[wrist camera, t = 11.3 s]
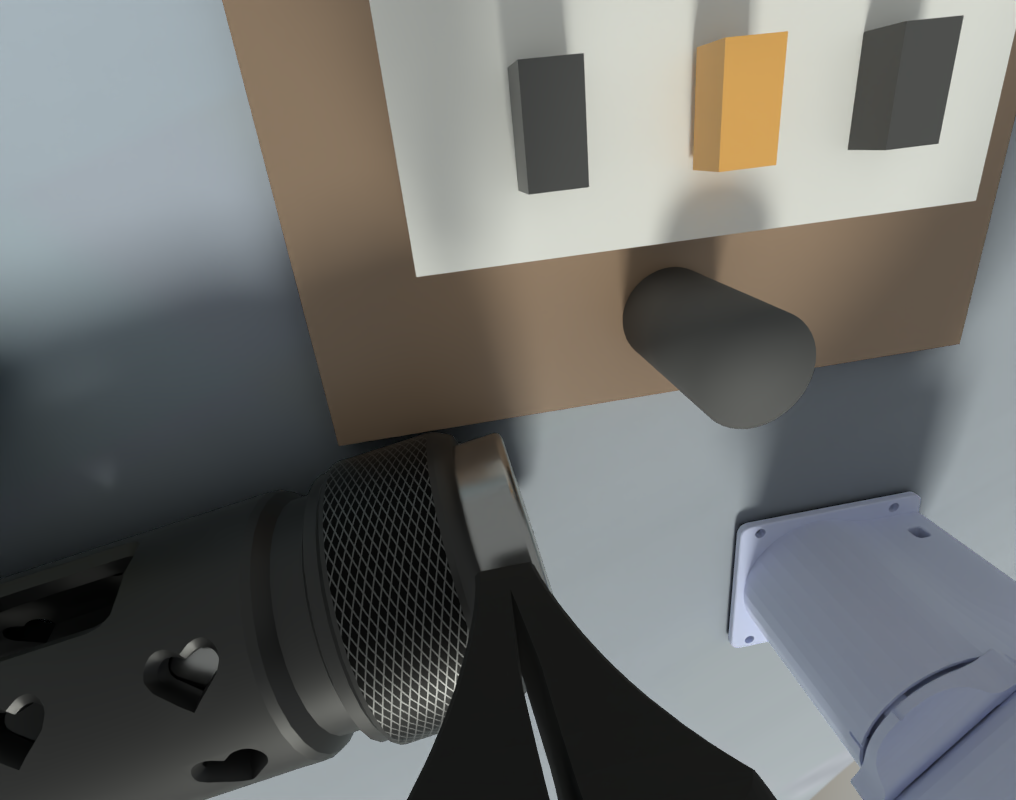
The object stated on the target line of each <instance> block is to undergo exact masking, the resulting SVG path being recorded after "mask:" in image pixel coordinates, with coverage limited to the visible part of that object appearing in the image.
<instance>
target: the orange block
mask: <svg viewBox="0 0 1016 800" xmlns="http://www.w3.org/2000/svg"><path fill="white" fill-rule="evenodd" d="M787 39H788V31H785V32H775V33H765V34H755V35H744V36H734V37H725V38H722V39H719V40H717V41H714V42H711V43H708V44H705V45H702V46H699V47H697V55H696V86H695V117H694V148H693V170H698V171H710V172H724V171H732V170H740V169H748V168H756V167H765V166H773V165H776V162H777V151H778V140H779V128H780V117H781V106H782V95H783V84H784V73H785V61H786V50H787Z"/></svg>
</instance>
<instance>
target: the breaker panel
mask: <svg viewBox="0 0 1016 800" xmlns="http://www.w3.org/2000/svg"><path fill="white" fill-rule="evenodd" d="M222 2H223V5H224V9H225V13H226V17H227V21H228V25H229V28H230V32H231V36H232V40H233V44H234V48H235V51H236V55H237V59H238V63H239V67H240V70H241V74H242V78H243V82H244V86H245V90H246V93H247V97H248V101H249V105H250V109H251V113H252V116H253V120H254V124H255V128H256V132H257V135H258V139H259V143H260V147H261V151H262V155H263V158H264V162H265V166H266V170H267V174H268V178H269V181H270V185H271V189H272V193H273V197H274V200H275V204H276V208H277V212H278V216H279V220H280V223H281V227H282V231H283V235H284V239H285V243H286V246H287V250H288V254H289V258H290V262H291V266H292V269H293V273H294V277H295V281H296V285H297V288H298V292H299V296H300V300H301V304H302V308H303V311H304V315H305V319H306V323H307V327H308V331H309V334H310V338H311V342H312V346H313V350H314V353H315V357H316V361H317V365H318V369H319V373H320V376H321V380H322V384H323V388H324V392H325V396H326V399H327V403H328V407H329V411H330V415H331V418H332V422H333V426H334V430H335V434H336V438H337V441H338V445H339V446H343V445H349V444H355V443H361V442H367V441H373V440H379V439H385V438H391V437H397V436H404V435H410V434H416V433H422V432H428V431H434V430H440V429H446V428H452V427H458V426H464V425H470V424H476V423H482V422H489V421H495V420H501V419H507V418H513V417H519V416H525V415H531V414H537V413H543V412H549V411H555V410H561V409H568V408H574V407H580V406H586V405H592V404H598V403H604V402H610V401H616V400H622V399H628V398H634V397H640V396H646V395H653V394H659V393H665V392H671V391H677V390H679V389H677V388H676V387H675V386H674V385H673V384H672V383H671V382H670V381H668V380H667V379H666V378H665V377H664V376H663V375H662V374H661V373H660V372H658V371H657V370H656V369H655V368H654V367H653V366H652V365H651V364H650V363H648V362H647V361H646V360H645V359H644V358H643V357H642V356H641V355H639V354H638V353H637V352H636V351H635V350H634V349H633V348H632V347H631V345H630V344H629V343H628V341H627V339H626V336H625V334H624V330H623V312H624V308H625V305H626V302H627V300H628V298H629V296H630V294H631V292H632V291H633V290H634V288H635V287H636V286H637V285H638V284H639V283H640V282H641V281H642V280H643V279H644V278H645V277H647V276H648V275H650V274H651V273H654V272H656V271H658V270H661V269H664V268H668V267H683V268H687V269H690V270H692V271H695V272H697V273H699V274H702V275H704V276H706V277H709V278H711V279H713V280H715V281H718V282H720V283H722V284H725V285H727V286H729V287H732V288H734V289H736V290H738V291H741V292H743V293H745V294H748V295H750V296H752V297H755V298H757V299H759V300H762V301H764V302H766V303H768V304H771V305H773V306H775V307H778V308H780V309H782V310H785V311H787V312H789V313H791V314H793V315H795V316H797V317H798V318H800V319H801V320H802V321H803V322H804V323H805V324H806V325H807V326H808V328H809V329H810V331H811V333H812V335H813V338H814V341H815V346H816V363H815V368H816V367H823V366H829V365H835V364H841V363H847V362H853V361H859V360H865V359H871V358H877V357H883V356H889V355H895V354H901V353H908V352H914V351H920V350H926V349H932V348H938V347H944V346H950V345H956V344H960V340H961V336H962V332H963V328H964V324H965V319H966V315H967V311H968V307H969V303H970V299H971V295H972V291H973V287H974V283H975V279H976V275H977V271H978V267H979V262H980V258H981V254H982V250H983V246H984V242H985V238H986V234H987V230H988V226H989V222H990V218H991V214H992V209H993V205H994V201H995V197H996V193H997V189H998V185H999V181H1000V177H1001V173H1002V169H1003V165H1004V161H1005V156H1006V152H1007V148H1008V144H1009V140H1010V136H1011V132H1012V128H1013V124H1014V120H1015V116H1016V0H222ZM785 31H788V39H787V50H786V61H785V73H784V84H783V95H782V106H781V117H780V128H779V140H778V151H777V162H776V165H773V166H765V167H756V168H748V169H740V170H732V171H724V172H710V171H698V170H693V148H694V117H695V86H696V55H697V47H699V46H702V45H705V44H708V43H711V42H714V41H717V40H719V39H722V38H725V37H734V36H744V35H755V34H765V33H775V32H785Z"/></svg>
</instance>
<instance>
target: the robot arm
mask: <svg viewBox="0 0 1016 800" xmlns="http://www.w3.org/2000/svg"><path fill="white" fill-rule="evenodd" d="M920 504H921V498H920V496H919V495H917V494H916V493H914V492H905V493H899V494H894V495H889V496H884V497H878V498H873V499H868V500H863V501H858V502H852V503H847V504H842V505H837V506H832V507H826V508H821V509H816V510H811V511H806V512H800V513H795V514H790V515H785V516H780V517H774V518H769V519H764V520H759V521H754V522H748V523H745V524H743V525H742V526H740V528H739V529H738V532H737V540H736V552H735V564H734V576H733V588H732V600H731V612H730V624H729V636H728V639H729V642H730V643H731V645H732V646H733V647H735V648H740V647H745V646H750V645H754V644H759V643H764V642H769V643H770V644H771V646H772V647H773V649H774V650H775V651H776V653H777V654H778V655H779V657H780V658H781V660H782V661H783V662H784V664H785V665H786V666H787V668H788V669H789V671H790V672H791V673H792V675H793V676H794V677H795V679H796V680H797V682H798V683H799V684H800V686H801V687H802V688H803V690H804V691H805V693H806V694H807V695H808V697H809V698H810V699H811V701H812V702H813V704H814V705H815V706H816V708H817V709H818V710H819V712H820V713H821V714H822V716H823V717H824V719H825V720H826V721H827V723H828V724H829V725H830V727H831V728H832V730H833V731H834V732H835V734H836V735H837V736H838V738H839V739H840V741H841V742H842V743H843V745H844V746H845V747H846V749H847V750H848V752H849V753H850V754H851V756H852V757H853V758H854V760H855V761H856V763H857V764H858V765H859V767H860V770H859V771H858V772H857V774H856V775H855V776H854V777H853V778H852V779H851V783H852V785H853V786H854V787H855V789H856V791H857V792H858V793H859V795H860V796H861V798H862V799H863V800H1016V581H1014V580H1013V579H1012V578H1010V577H1009V576H1007V575H1006V574H1005V573H1003V572H1002V571H1000V570H999V569H998V568H996V567H995V566H993V565H992V564H991V563H989V562H988V561H986V560H985V559H984V558H982V557H981V556H979V555H978V554H977V553H975V552H974V551H972V550H971V549H970V548H968V547H967V546H965V545H964V544H963V543H961V542H960V541H958V540H957V539H956V538H954V537H953V536H951V535H950V534H949V533H947V532H946V531H944V530H943V529H942V528H940V527H939V526H937V525H936V524H935V523H933V522H932V521H930V520H929V519H928V518H926V517H925V516H923V515H922V514H921V513H919V508H920ZM758 530H760V531H759V532H757V531H758ZM756 532H757V533H756ZM521 673H522V674H521ZM522 677H523V680H524V683H525V687H526V690H527V693H528V697H529V700H530V703H531V706H532V710H533V713H534V716H535V720H536V723H537V726H538V729H539V733H540V736H541V739H542V743H543V746H544V749H545V752H546V756H547V759H548V762H549V765H550V769H551V773H552V777H553V780H554V784H555V788H556V793H557V797H558V800H777V799H776V798H775V796H774V795H773V794H772V792H771V791H770V789H769V788H768V787H767V786H766V784H765V783H764V782H763V780H762V779H761V778H760V776H759V775H758V774H757V773H756V772H755V770H753V769H752V768H750V767H748V766H746V765H745V764H743V763H741V762H740V761H738V760H736V759H735V758H733V757H731V756H730V755H728V754H727V753H725V752H724V751H722V750H720V749H719V748H717V747H716V746H714V745H713V744H711V743H710V742H708V741H707V740H705V739H704V738H702V737H701V736H699V735H698V734H696V733H695V732H694V731H692V730H691V729H689V728H688V727H686V726H685V725H684V724H682V723H681V722H680V721H678V720H677V719H676V718H675V717H673V716H672V715H671V714H669V713H668V712H667V711H665V710H664V709H663V708H662V707H660V706H659V705H658V704H656V703H655V702H654V701H653V700H651V699H650V698H649V697H648V696H646V695H645V694H644V693H643V692H642V691H641V690H640V689H638V688H637V687H636V686H635V685H634V684H633V683H631V682H630V681H629V680H628V679H627V678H626V677H625V676H624V675H623V674H622V673H621V672H620V671H619V670H617V669H616V668H615V667H614V666H613V665H612V664H611V663H610V662H609V661H608V660H607V659H606V658H605V657H604V656H603V655H602V654H601V653H600V651H599V650H598V649H597V648H596V647H595V646H594V645H593V644H592V643H591V642H590V641H589V640H588V638H587V637H586V636H585V635H584V634H583V633H582V632H581V630H580V629H579V628H578V627H577V626H576V624H575V623H574V622H573V621H572V619H571V618H570V617H569V616H568V614H567V613H566V612H565V611H564V610H563V608H562V607H561V606H560V604H559V603H558V602H557V600H556V599H555V597H554V596H553V594H552V593H551V592H550V590H549V589H548V587H547V586H546V584H545V583H544V581H543V579H542V578H541V576H540V574H539V573H538V571H537V569H536V567H535V565H534V564H532V563H530V562H527V563H522V564H517V565H511V566H506V567H501V568H496V569H491V570H485V571H480V572H478V573H477V575H476V576H475V601H474V609H473V616H472V622H471V627H470V632H469V637H468V642H467V646H466V651H465V654H464V658H463V662H462V665H461V669H460V673H459V676H458V680H457V683H456V686H455V689H454V692H453V695H452V698H451V701H450V704H449V707H448V709H447V712H446V715H445V718H444V720H443V723H442V725H441V728H440V730H439V733H438V735H437V737H436V740H435V742H434V745H433V747H432V749H431V752H430V754H429V756H428V758H427V760H426V763H425V765H424V767H423V769H422V771H421V773H420V775H419V777H418V779H417V781H416V783H415V785H414V787H413V789H412V791H411V793H410V795H409V797H408V799H407V800H549V796H548V792H547V788H546V784H545V780H544V776H543V771H542V767H541V763H540V759H539V755H538V751H537V747H536V743H535V738H534V734H533V730H532V726H531V721H530V717H529V713H528V709H527V704H526V700H525V696H524V691H523V683H522Z"/></svg>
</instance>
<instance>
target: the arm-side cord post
mask: <svg viewBox="0 0 1016 800" xmlns="http://www.w3.org/2000/svg"><path fill="white" fill-rule="evenodd" d="M623 330H624V334H625V336H626V339H627V341H628V343H629V344H630V345H631V347H632V348H633V349H634V350H635V351H636V352H637V353H638V354H639V355H641V356H642V357H643V358H644V359H645V360H646V361H647V362H648V363H650V364H651V365H652V366H653V367H654V368H655V369H656V370H657V371H658V372H660V373H661V374H662V375H663V376H664V377H665V378H666V379H667V380H668V381H670V382H671V383H672V384H673V385H674V386H675V387H676V388H677V389H679V390H680V391H681V392H682V393H683V394H684V395H685V396H686V397H687V398H689V399H690V400H691V401H692V402H693V403H694V404H695V405H696V406H697V407H699V408H700V409H701V410H702V411H703V412H704V413H705V414H706V415H708V416H709V417H710V418H711V419H712V420H714V421H715V422H716V423H718V424H720V425H723V426H726V427H729V428H735V429H748V428H754V427H758V426H761V425H764V424H767V423H769V422H771V421H773V420H775V419H777V418H778V417H780V416H781V415H783V414H784V413H785V412H787V411H788V410H789V409H790V408H791V407H792V406H793V405H794V404H795V403H796V402H797V401H798V400H799V399H800V397H801V396H802V394H803V393H804V392H805V390H806V388H807V386H808V385H809V382H810V380H811V378H812V375H813V372H814V368H815V363H816V346H815V341H814V338H813V335H812V333H811V331H810V329H809V328H808V326H807V325H806V324H805V323H804V322H803V321H802V320H801V319H800V318H798V317H797V316H795V315H793V314H791V313H789V312H787V311H785V310H782V309H780V308H778V307H775V306H773V305H771V304H768V303H766V302H764V301H762V300H759V299H757V298H755V297H752V296H750V295H748V294H745V293H743V292H741V291H738V290H736V289H734V288H732V287H729V286H727V285H725V284H722V283H720V282H718V281H715V280H713V279H711V278H709V277H706V276H704V275H702V274H699V273H697V272H695V271H692V270H690V269H687V268H683V267H668V268H664V269H661V270H658V271H656V272H654V273H651V274H650V275H648V276H647V277H645V278H644V279H643V280H642V281H641V282H640V283H639V284H638V285H637V286H636V287H635V288H634V290H633V291H632V292H631V294H630V296H629V298H628V300H627V302H626V305H625V308H624V312H623Z"/></svg>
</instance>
